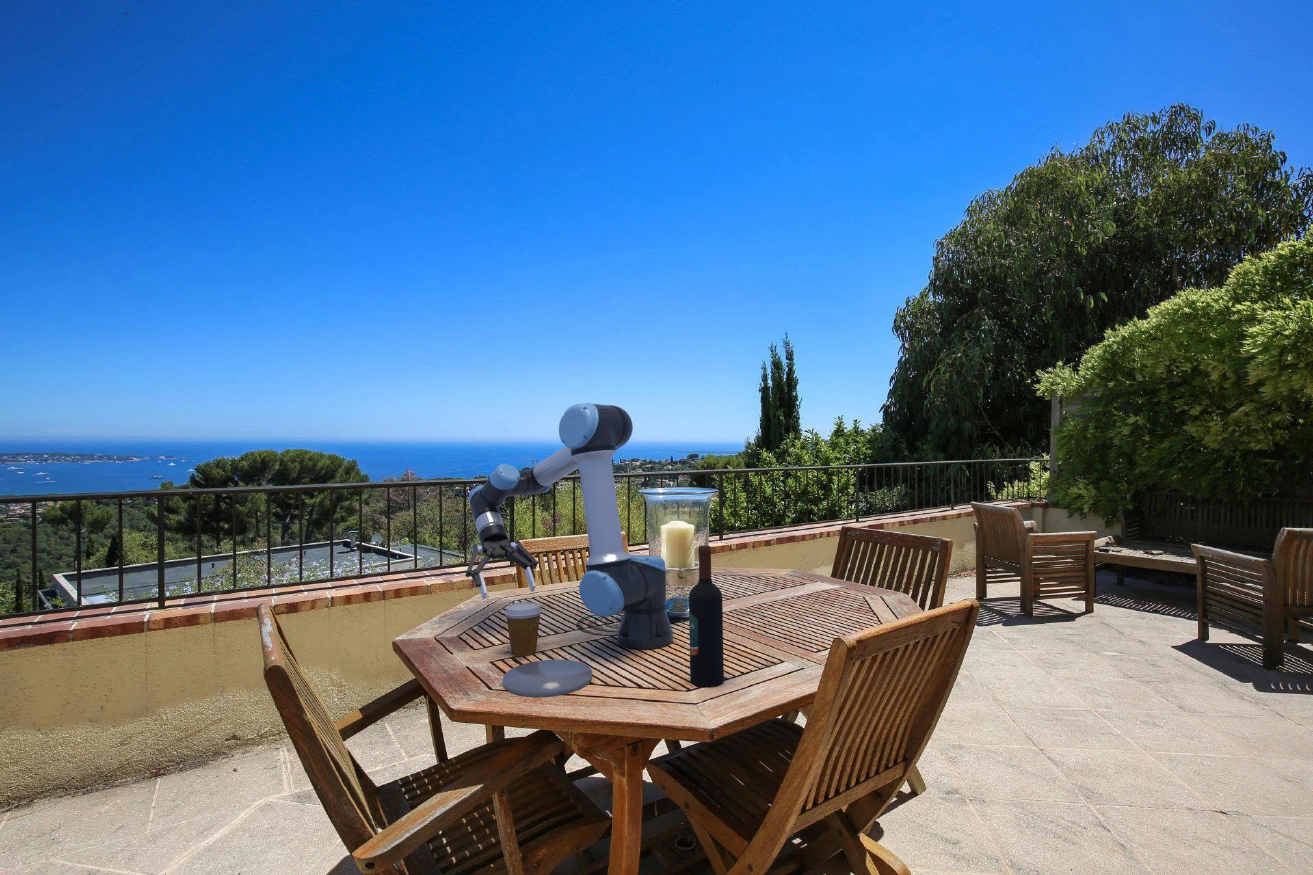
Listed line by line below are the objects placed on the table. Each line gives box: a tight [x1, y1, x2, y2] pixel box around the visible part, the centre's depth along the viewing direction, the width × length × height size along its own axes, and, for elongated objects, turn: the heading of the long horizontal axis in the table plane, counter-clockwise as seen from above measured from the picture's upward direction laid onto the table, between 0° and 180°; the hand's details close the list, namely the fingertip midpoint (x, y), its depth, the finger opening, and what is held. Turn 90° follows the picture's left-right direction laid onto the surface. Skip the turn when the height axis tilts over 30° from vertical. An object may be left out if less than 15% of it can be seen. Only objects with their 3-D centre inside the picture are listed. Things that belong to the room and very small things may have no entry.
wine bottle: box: [688, 545, 725, 688], centre depth 140 cm, size 8×8×30 cm
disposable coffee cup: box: [504, 601, 543, 657], centre depth 161 cm, size 10×10×12 cm
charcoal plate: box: [502, 658, 593, 698], centre depth 142 cm, size 20×20×1 cm
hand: (509, 592), depth 169 cm, fingers open, 13 cm apart
